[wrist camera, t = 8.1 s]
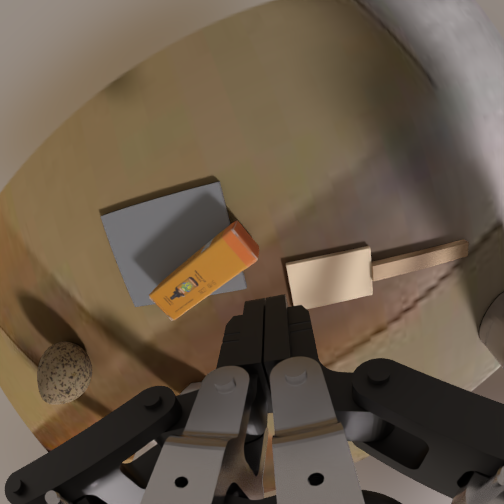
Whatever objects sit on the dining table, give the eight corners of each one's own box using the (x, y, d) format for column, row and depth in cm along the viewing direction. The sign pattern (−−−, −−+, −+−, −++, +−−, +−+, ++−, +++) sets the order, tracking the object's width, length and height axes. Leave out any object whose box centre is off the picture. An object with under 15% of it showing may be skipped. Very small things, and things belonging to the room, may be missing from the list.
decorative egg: (107, 353, 32) (74, 408, 22) (94, 377, 34) (65, 426, 24) (64, 320, 30) (23, 368, 21) (55, 348, 32) (21, 392, 23)
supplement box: (236, 217, 24) (157, 281, 27) (233, 227, 21) (145, 298, 23) (260, 246, 25) (180, 305, 27) (260, 260, 22) (171, 324, 24)
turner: (464, 224, 24) (469, 227, 23) (461, 266, 26) (466, 270, 25) (285, 262, 26) (286, 267, 25) (294, 308, 28) (295, 313, 27)
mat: (219, 181, 24) (218, 182, 23) (246, 285, 27) (246, 288, 27) (103, 214, 25) (100, 216, 24) (137, 304, 28) (135, 306, 28)
